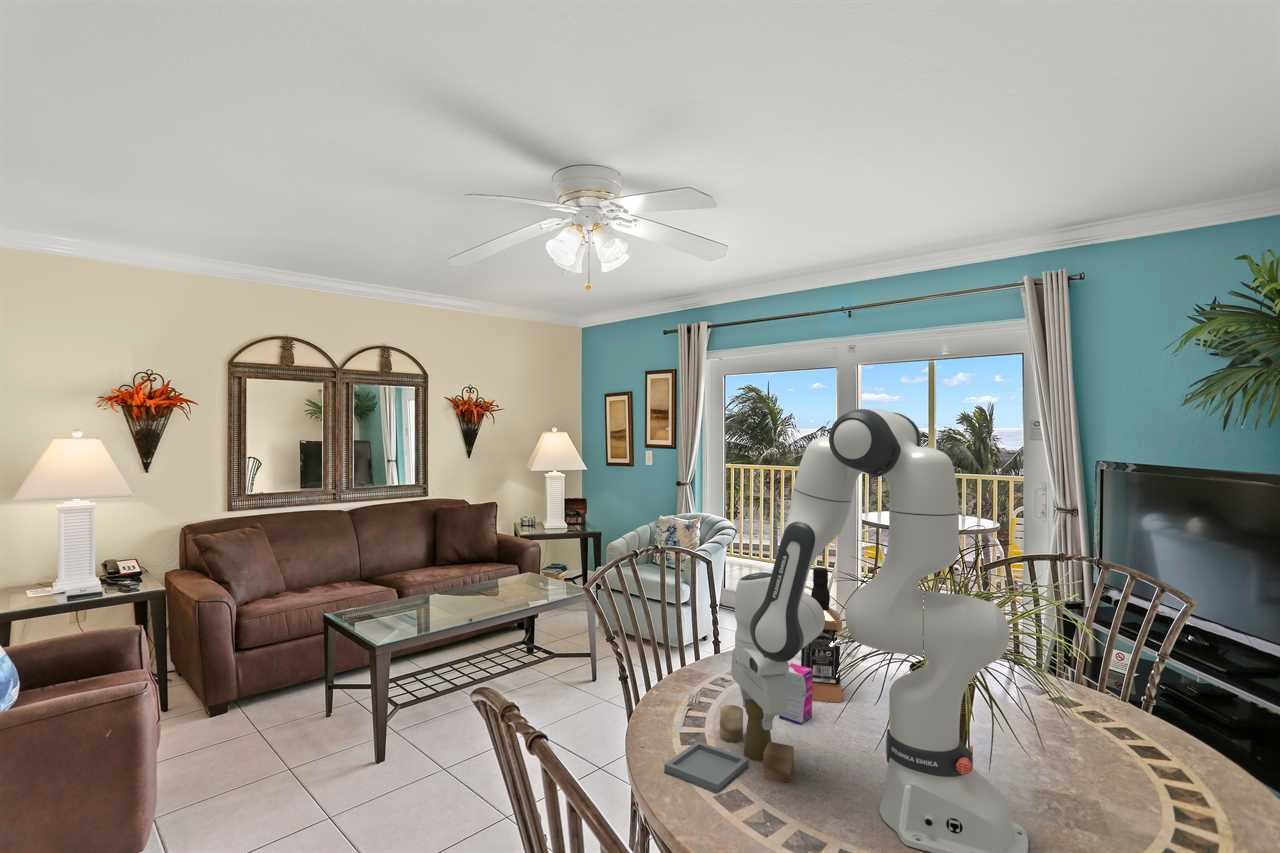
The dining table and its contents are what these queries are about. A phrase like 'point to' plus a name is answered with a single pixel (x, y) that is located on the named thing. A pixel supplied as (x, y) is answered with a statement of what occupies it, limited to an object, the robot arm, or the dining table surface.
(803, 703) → the supplement box
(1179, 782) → the dining table surface
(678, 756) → the slate dish
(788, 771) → the walnut block
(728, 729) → the cork cylinder
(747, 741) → the olive hourglass shape
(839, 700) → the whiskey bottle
